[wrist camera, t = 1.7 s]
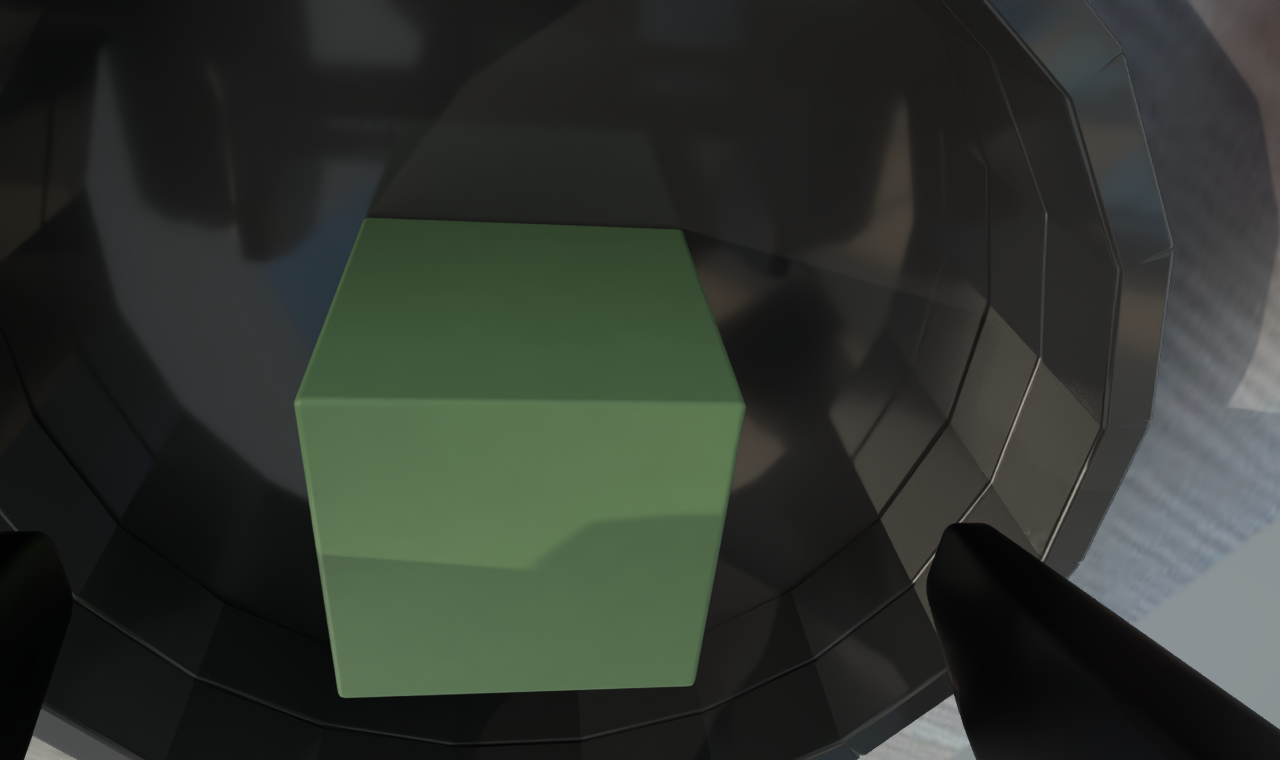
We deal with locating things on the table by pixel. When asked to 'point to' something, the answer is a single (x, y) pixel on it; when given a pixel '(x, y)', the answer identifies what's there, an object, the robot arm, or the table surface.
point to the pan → (580, 196)
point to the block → (517, 458)
